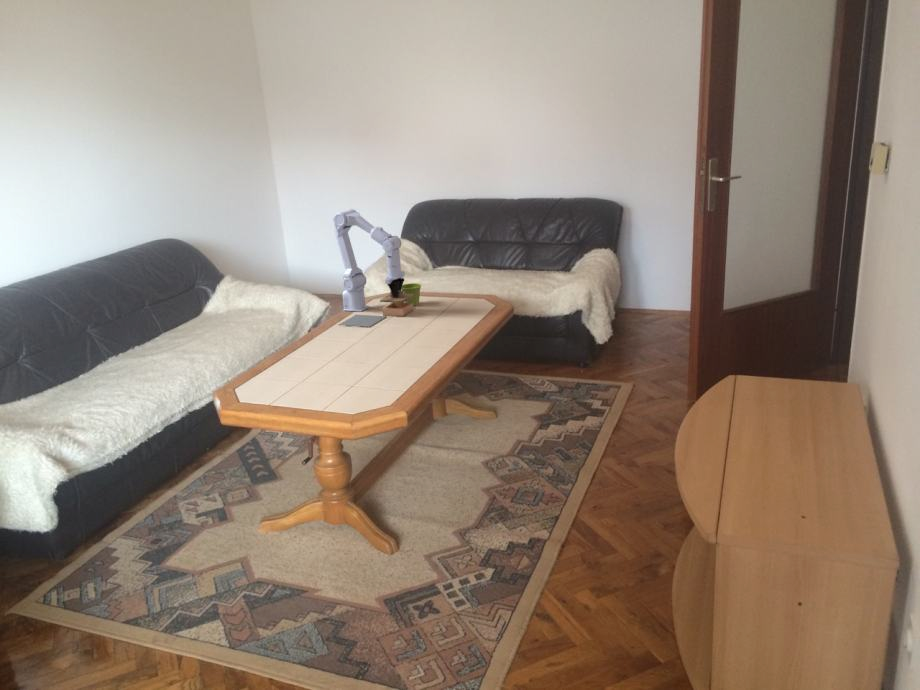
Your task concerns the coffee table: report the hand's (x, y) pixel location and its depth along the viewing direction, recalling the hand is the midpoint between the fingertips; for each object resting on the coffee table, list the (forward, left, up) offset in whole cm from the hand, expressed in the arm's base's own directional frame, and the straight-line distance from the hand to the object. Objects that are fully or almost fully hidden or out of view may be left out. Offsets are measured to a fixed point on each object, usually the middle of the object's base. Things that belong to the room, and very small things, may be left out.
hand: (396, 296), depth 324 cm
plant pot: (0, +14, -8) cm, 16 cm away
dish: (0, 0, -8) cm, 8 cm away
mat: (-10, -14, -8) cm, 19 cm away
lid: (0, 0, -1) cm, 1 cm away
